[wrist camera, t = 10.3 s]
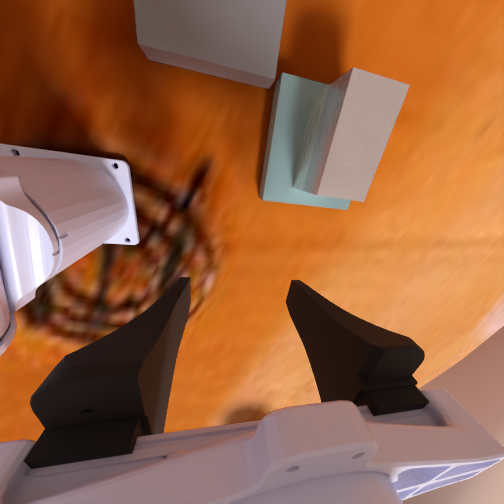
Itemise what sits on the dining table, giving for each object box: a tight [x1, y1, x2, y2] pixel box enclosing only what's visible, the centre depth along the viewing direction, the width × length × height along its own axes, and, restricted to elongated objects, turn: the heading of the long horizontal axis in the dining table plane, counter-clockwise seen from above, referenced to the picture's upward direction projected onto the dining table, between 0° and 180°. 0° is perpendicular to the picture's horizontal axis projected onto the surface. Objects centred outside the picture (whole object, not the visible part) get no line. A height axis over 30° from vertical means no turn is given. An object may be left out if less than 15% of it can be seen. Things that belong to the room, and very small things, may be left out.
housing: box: [292, 67, 410, 202], centre depth 14 cm, size 4×7×5 cm, turn 172°
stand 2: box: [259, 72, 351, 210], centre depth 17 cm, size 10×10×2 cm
